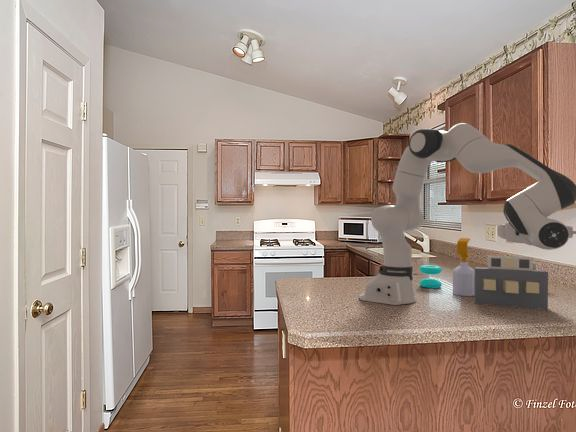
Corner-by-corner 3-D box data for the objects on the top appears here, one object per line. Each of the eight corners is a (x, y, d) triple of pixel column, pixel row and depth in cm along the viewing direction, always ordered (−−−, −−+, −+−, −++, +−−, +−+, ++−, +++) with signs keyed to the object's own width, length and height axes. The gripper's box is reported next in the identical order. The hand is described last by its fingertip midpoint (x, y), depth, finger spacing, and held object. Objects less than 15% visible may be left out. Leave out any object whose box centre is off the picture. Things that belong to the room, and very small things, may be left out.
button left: (484, 289, 142) (484, 279, 142) (482, 286, 148) (482, 276, 148) (495, 290, 140) (495, 280, 140) (493, 287, 147) (493, 277, 147)
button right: (526, 292, 136) (526, 282, 136) (522, 289, 143) (522, 278, 143) (539, 293, 135) (539, 282, 135) (534, 289, 141) (534, 279, 141)
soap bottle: (478, 294, 161) (478, 238, 160) (471, 297, 154) (471, 239, 154) (456, 291, 167) (457, 237, 167) (449, 294, 160) (450, 238, 160)
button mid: (506, 292, 136) (506, 281, 136) (503, 288, 143) (503, 278, 143) (518, 293, 135) (518, 282, 135) (514, 289, 141) (514, 279, 141)
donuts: (416, 264, 182) (436, 264, 182) (416, 284, 182) (436, 284, 182) (423, 267, 172) (445, 267, 172) (423, 288, 172) (445, 288, 172)
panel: (475, 303, 144) (475, 255, 144) (474, 301, 147) (474, 254, 147) (547, 309, 135) (548, 258, 135) (545, 307, 138) (545, 257, 137)
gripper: (580, 222, 108) (565, 221, 120) (501, 221, 116) (495, 220, 128) (580, 243, 108) (565, 240, 121) (501, 241, 116) (494, 238, 128)
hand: (528, 230), depth 125 cm, fingers closed
